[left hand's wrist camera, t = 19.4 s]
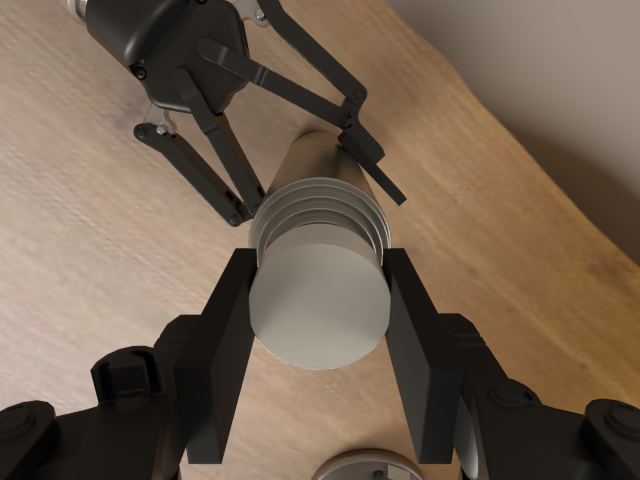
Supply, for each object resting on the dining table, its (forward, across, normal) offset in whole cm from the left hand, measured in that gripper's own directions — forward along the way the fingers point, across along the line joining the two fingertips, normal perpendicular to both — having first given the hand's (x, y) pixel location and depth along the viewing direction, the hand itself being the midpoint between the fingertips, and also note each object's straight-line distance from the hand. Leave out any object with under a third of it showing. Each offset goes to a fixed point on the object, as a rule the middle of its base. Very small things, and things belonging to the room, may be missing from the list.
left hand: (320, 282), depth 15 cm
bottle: (+23, 0, 0) cm, 23 cm away
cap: (-2, 0, 0) cm, 2 cm away
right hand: (+16, -4, +4) cm, 17 cm away
